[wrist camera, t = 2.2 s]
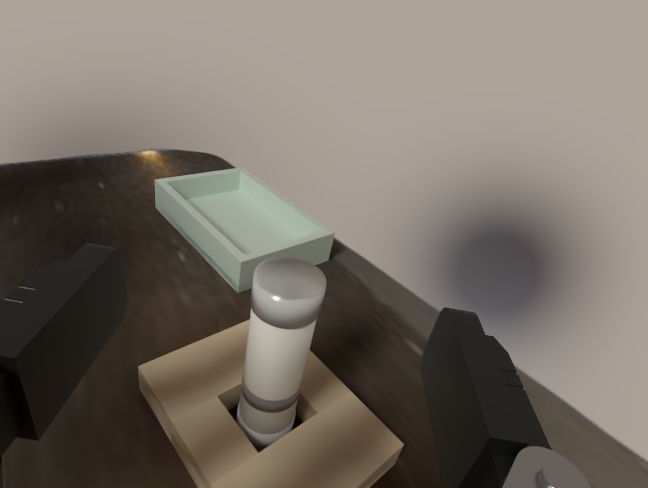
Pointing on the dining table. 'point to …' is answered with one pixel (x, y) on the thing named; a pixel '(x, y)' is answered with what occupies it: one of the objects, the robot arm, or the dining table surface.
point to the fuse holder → (232, 444)
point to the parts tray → (239, 222)
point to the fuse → (278, 346)
